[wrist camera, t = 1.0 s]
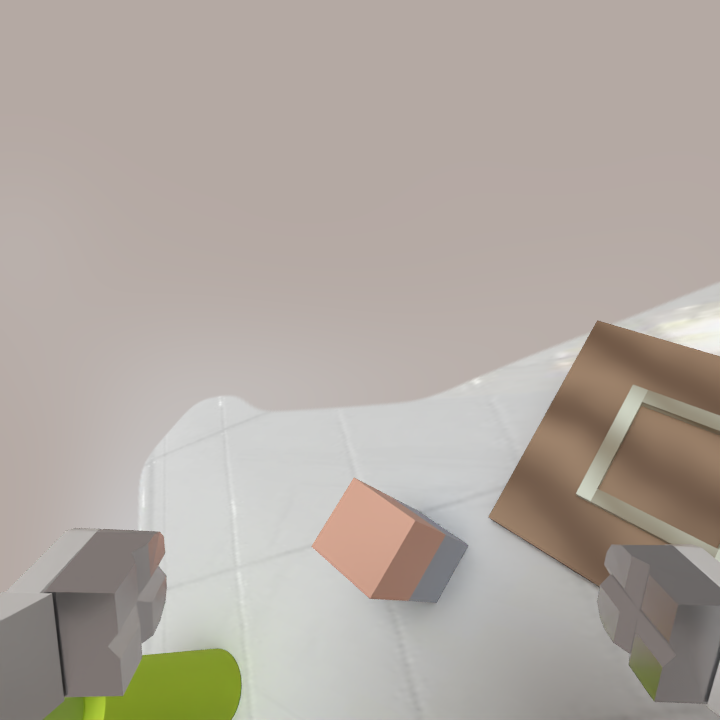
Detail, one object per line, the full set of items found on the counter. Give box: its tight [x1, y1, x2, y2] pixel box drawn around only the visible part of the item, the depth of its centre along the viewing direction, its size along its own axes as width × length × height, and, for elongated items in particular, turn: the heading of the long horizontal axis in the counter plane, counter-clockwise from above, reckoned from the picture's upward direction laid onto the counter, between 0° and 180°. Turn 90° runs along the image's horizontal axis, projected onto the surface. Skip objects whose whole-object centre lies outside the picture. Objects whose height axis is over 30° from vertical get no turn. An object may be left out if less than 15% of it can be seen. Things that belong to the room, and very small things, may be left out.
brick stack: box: [311, 478, 468, 602], centre depth 32 cm, size 5×5×12 cm
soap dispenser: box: [43, 649, 241, 720], centre depth 31 cm, size 6×7×20 cm
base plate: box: [489, 321, 720, 587], centre depth 31 cm, size 18×18×2 cm
